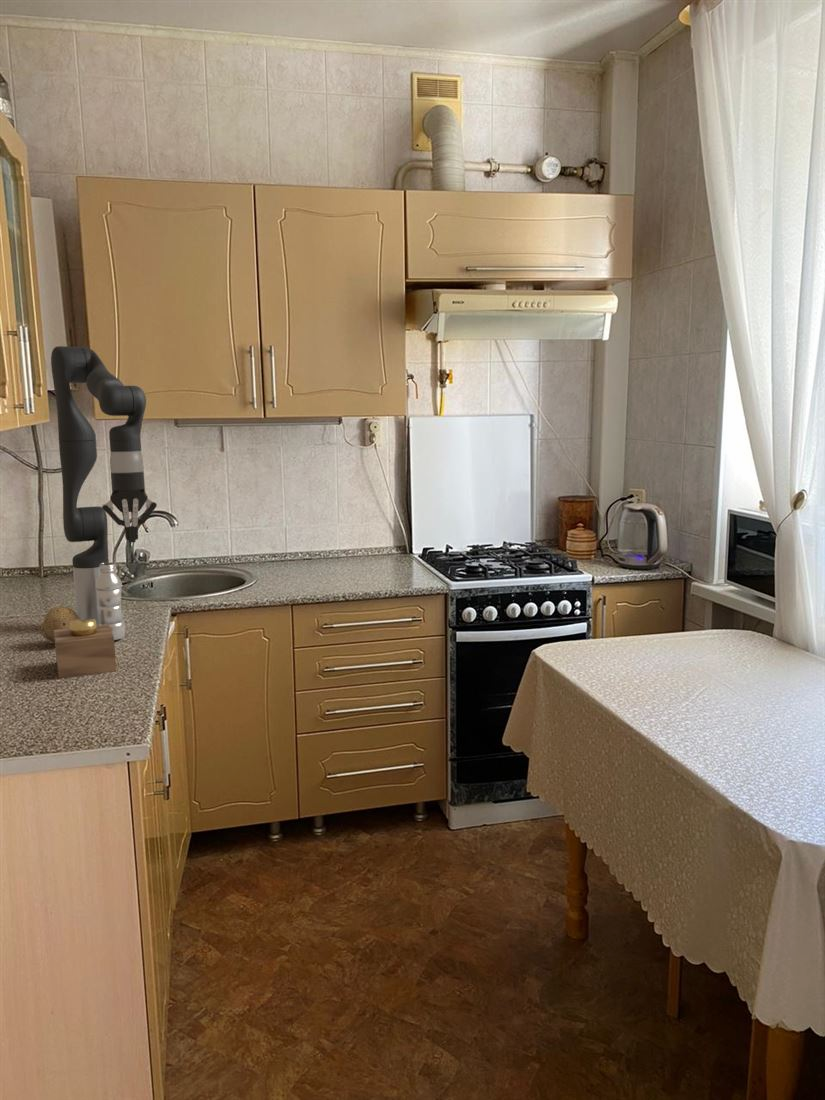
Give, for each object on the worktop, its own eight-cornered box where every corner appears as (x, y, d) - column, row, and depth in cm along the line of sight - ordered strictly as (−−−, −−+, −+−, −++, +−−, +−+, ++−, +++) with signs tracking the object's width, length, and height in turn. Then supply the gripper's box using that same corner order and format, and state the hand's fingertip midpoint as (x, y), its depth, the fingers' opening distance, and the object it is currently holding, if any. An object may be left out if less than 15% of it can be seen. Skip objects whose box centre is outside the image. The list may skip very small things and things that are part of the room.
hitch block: (56, 663, 195) (54, 630, 194) (110, 656, 200) (108, 624, 199) (58, 678, 184) (55, 643, 182) (116, 671, 189) (113, 636, 187)
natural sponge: (86, 645, 211) (83, 606, 210) (49, 651, 206) (46, 612, 204) (75, 638, 218) (72, 601, 217) (39, 644, 213) (36, 606, 211)
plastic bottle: (118, 635, 221) (112, 560, 217) (131, 639, 216) (125, 563, 213) (94, 640, 216) (88, 564, 212) (107, 644, 211) (101, 567, 208)
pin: (72, 661, 193) (69, 620, 192) (98, 658, 196) (95, 617, 194) (73, 667, 188) (70, 625, 187) (100, 664, 191) (96, 622, 189)
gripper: (153, 468, 206) (158, 538, 208) (96, 470, 200) (101, 542, 203) (158, 470, 199) (162, 542, 202) (99, 472, 193) (104, 546, 196)
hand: (131, 541), depth 202 cm, fingers closed
